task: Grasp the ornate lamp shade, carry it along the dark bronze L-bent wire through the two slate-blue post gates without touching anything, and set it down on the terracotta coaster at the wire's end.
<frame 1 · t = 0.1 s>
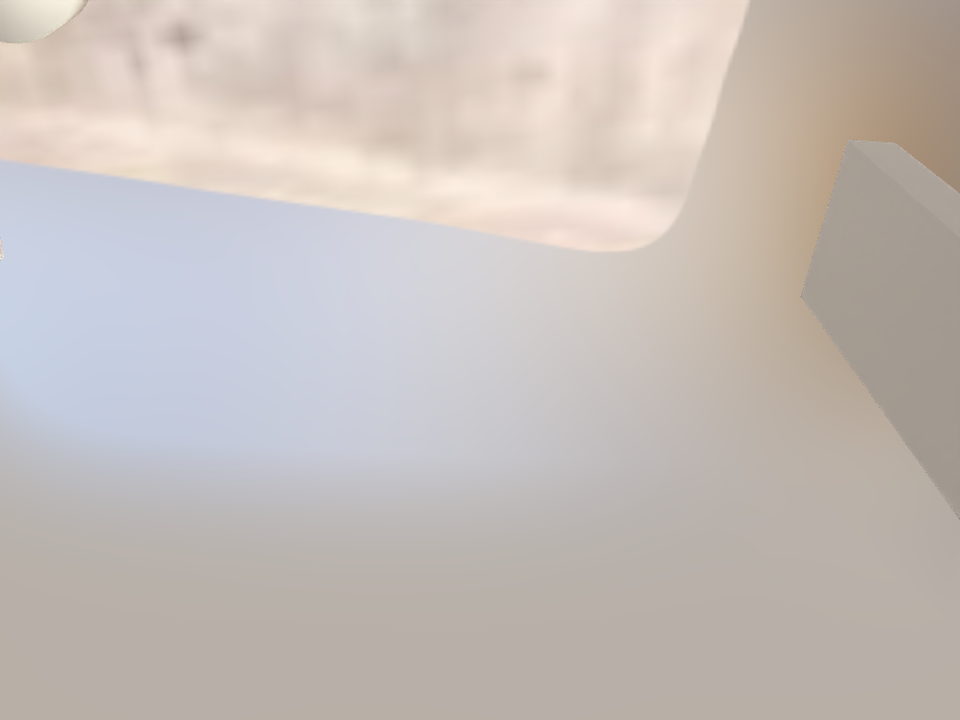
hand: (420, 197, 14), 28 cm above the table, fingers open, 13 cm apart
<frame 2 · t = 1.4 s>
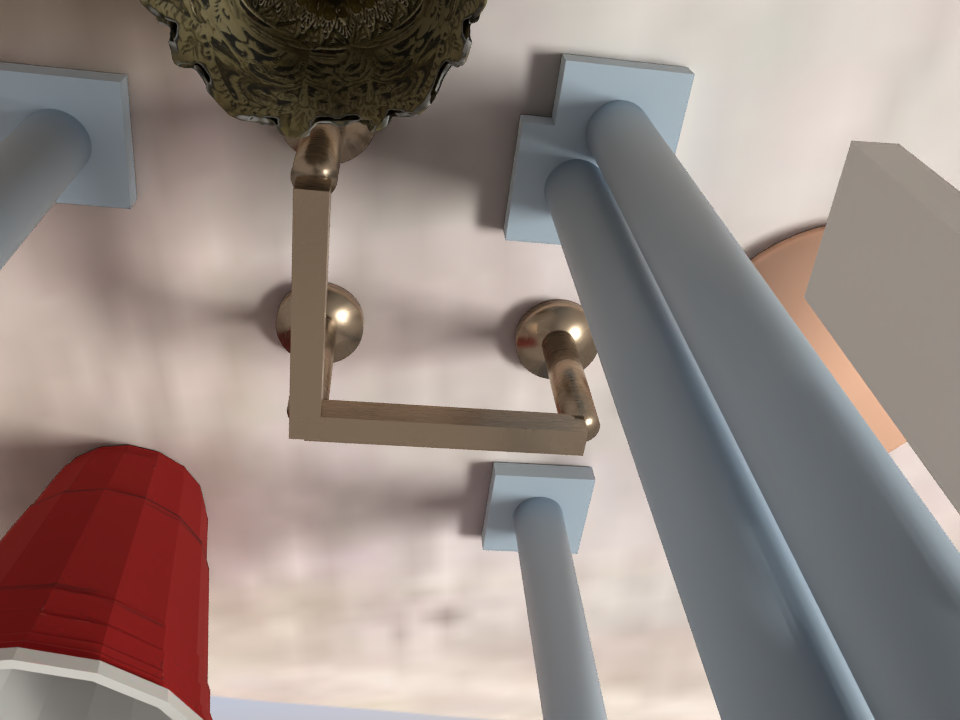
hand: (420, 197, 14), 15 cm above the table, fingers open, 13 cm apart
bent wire: (320, 319, 33), on the table
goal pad: (826, 354, 35), on the table
gate a: (326, 157, 29), on the table
plastic cup: (133, 501, 37), on the table
gate b: (569, 336, 34), on the table
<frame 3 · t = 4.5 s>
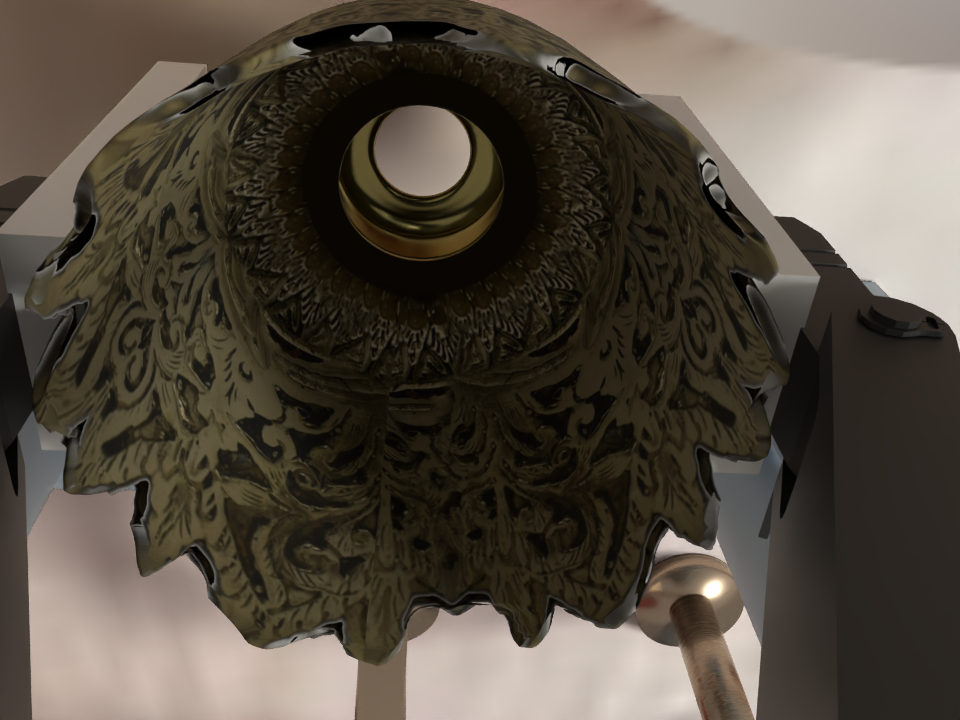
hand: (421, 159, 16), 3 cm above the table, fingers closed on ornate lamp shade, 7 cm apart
ornate lamp shade: (422, 145, 16), point 3 cm above the table, touching gripper
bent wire: (384, 589, 25), on the table
gate a: (391, 410, 22), on the table
when the fingers open (2 cm above the table, at t = 12.1 s): ornate lamp shade moves 2 cm, resting on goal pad.
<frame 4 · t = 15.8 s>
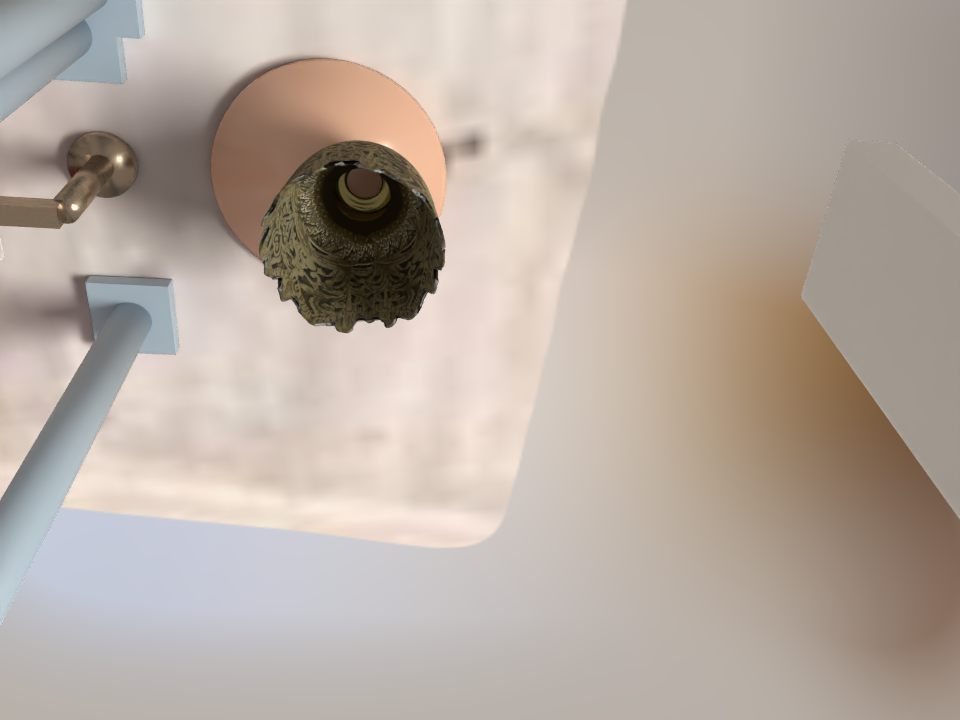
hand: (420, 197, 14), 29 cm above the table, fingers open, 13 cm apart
ornate lamp shade: (364, 179, 44), resting on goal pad
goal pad: (331, 175, 44), on the table
gate b: (115, 163, 43), on the table
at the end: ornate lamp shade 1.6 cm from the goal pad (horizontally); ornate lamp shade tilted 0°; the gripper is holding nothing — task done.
